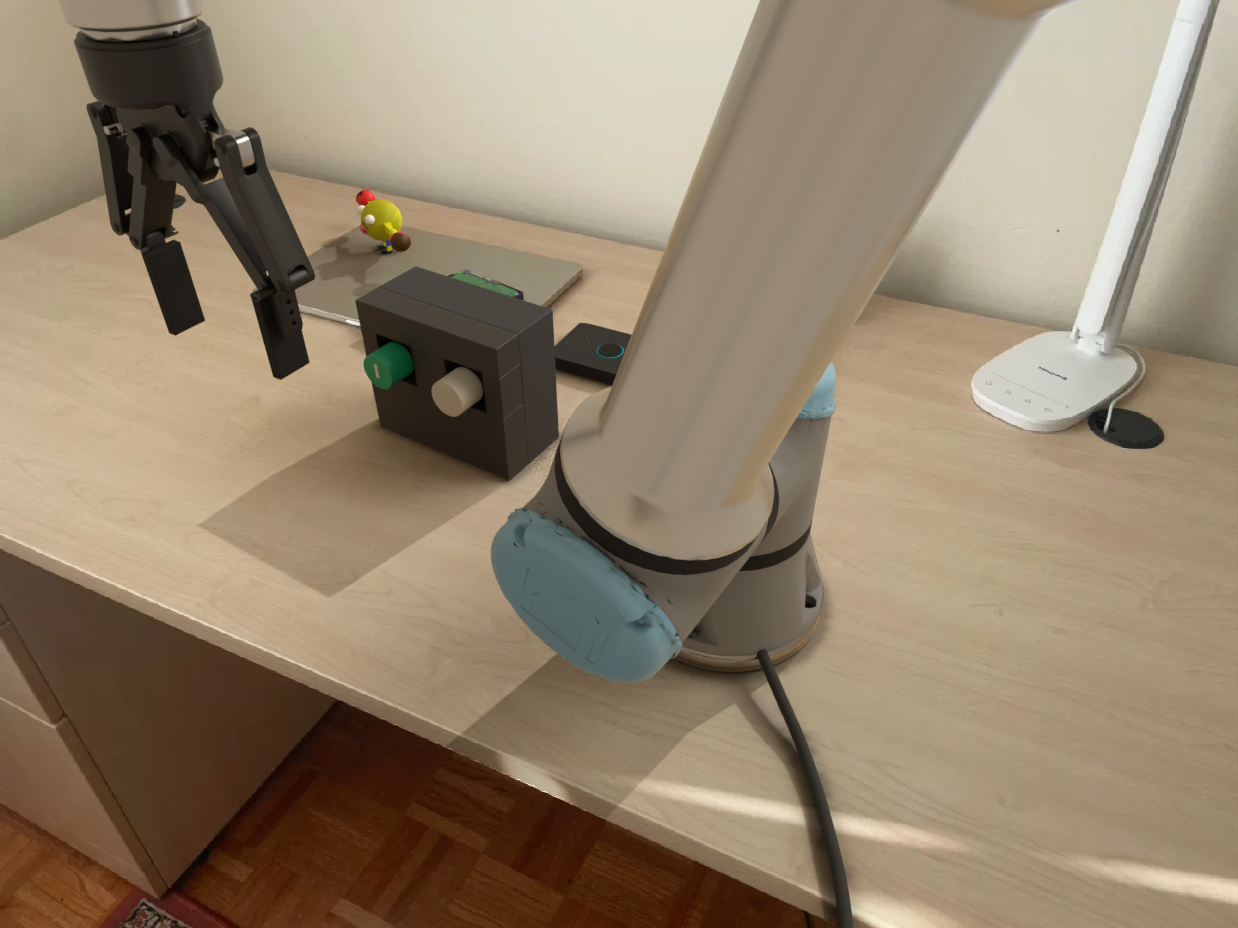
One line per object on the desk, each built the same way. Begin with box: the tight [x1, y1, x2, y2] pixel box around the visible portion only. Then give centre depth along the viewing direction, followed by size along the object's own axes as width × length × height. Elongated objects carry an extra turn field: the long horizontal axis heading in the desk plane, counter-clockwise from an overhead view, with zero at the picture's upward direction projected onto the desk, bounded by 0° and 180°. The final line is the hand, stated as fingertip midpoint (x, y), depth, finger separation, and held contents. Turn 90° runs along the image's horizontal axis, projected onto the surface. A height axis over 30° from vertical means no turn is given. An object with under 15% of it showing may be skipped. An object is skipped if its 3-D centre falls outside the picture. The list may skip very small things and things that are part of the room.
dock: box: [354, 265, 560, 482], centre depth 85 cm, size 8×16×14 cm, turn 58°
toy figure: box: [355, 189, 412, 254], centre depth 119 cm, size 18×6×7 cm, turn 28°
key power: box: [362, 342, 414, 389], centre depth 82 cm, size 3×3×3 cm
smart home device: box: [554, 322, 632, 386], centre depth 97 cm, size 8×2×20 cm
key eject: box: [432, 367, 483, 417], centre depth 79 cm, size 3×3×3 cm
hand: (237, 347), depth 67 cm, fingers open, 11 cm apart
